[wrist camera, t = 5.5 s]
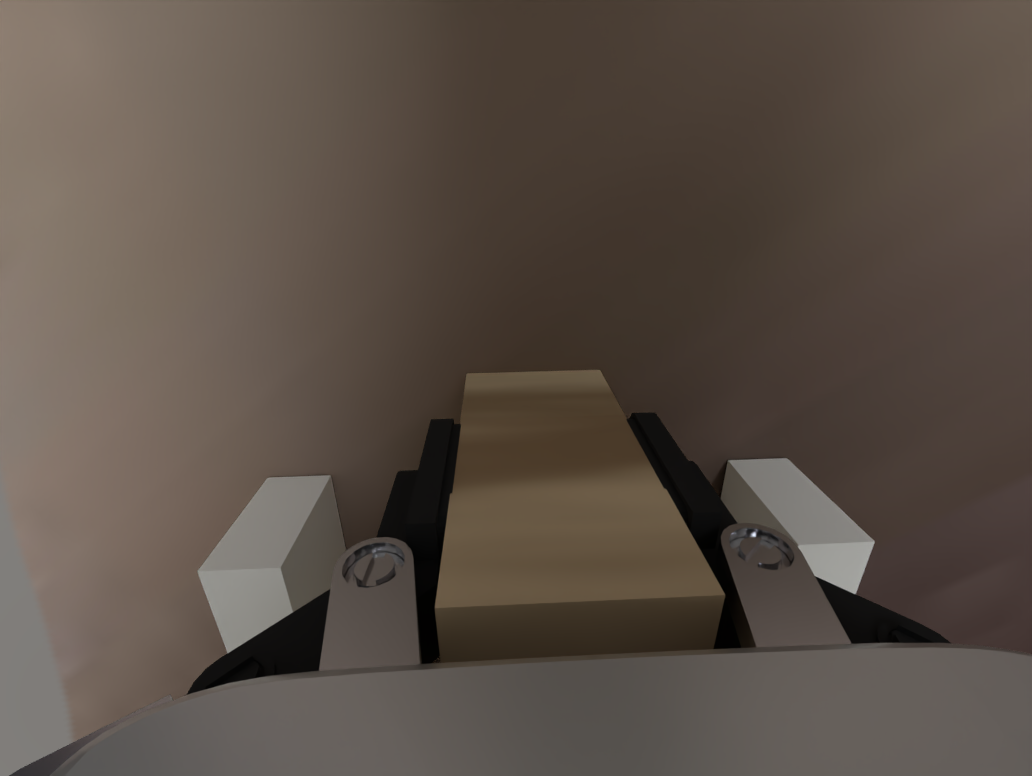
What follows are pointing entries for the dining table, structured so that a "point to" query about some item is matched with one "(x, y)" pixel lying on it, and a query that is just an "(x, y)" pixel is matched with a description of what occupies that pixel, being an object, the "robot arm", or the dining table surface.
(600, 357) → the dining table surface
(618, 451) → the wooden rectangular block
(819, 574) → the white rectangular posts
